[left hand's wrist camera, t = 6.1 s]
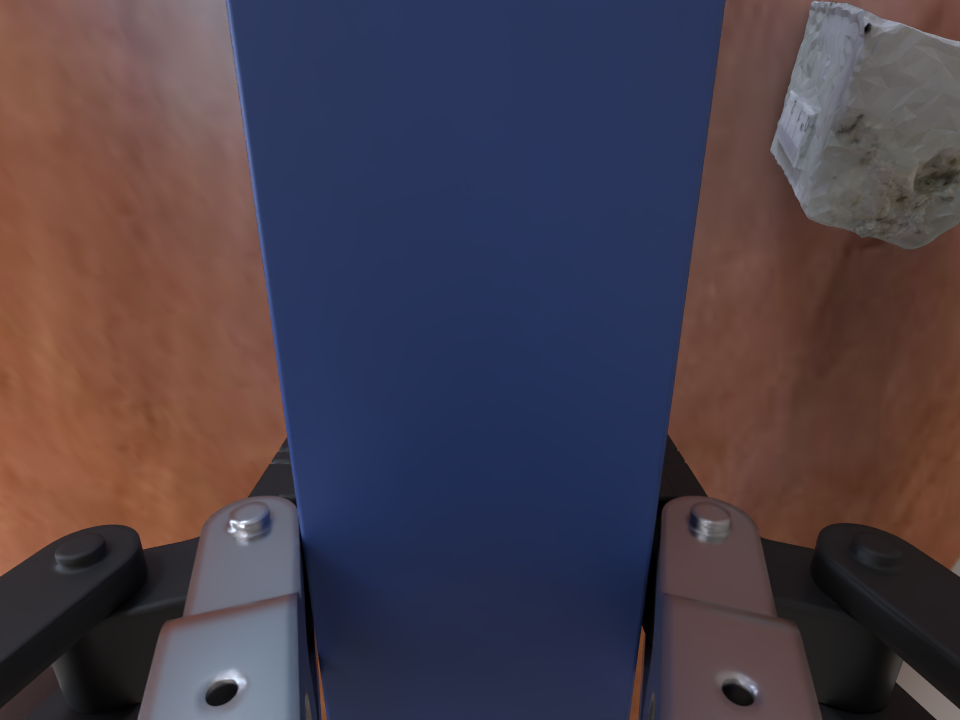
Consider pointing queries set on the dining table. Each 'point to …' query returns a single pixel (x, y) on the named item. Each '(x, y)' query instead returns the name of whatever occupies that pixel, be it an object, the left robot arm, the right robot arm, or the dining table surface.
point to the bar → (476, 330)
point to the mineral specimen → (873, 127)
